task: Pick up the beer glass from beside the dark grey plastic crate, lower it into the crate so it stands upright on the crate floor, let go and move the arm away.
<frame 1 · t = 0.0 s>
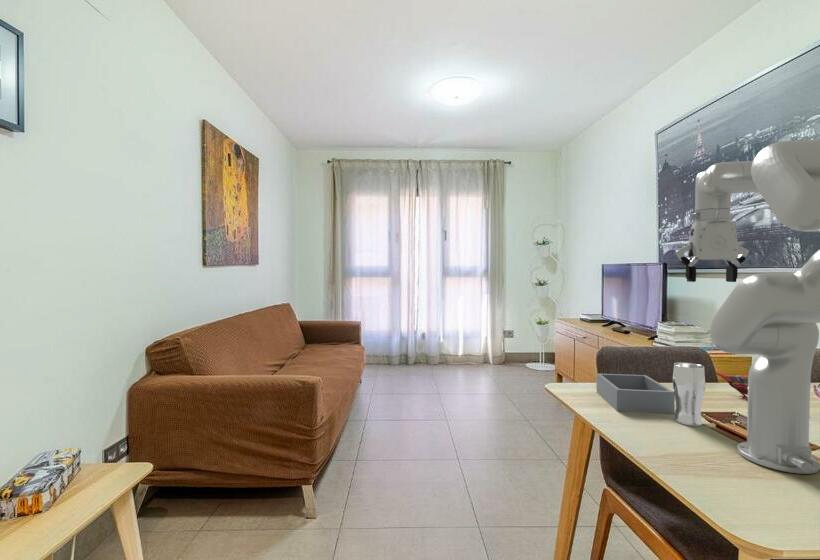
hand: (711, 281, 106), 37 cm above the table, tool pointing down, fingers open, 9 cm apart
crate: (632, 401, 120), on the table
decorative bird figurine: (740, 398, 124), on the table
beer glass: (687, 422, 104), on the table
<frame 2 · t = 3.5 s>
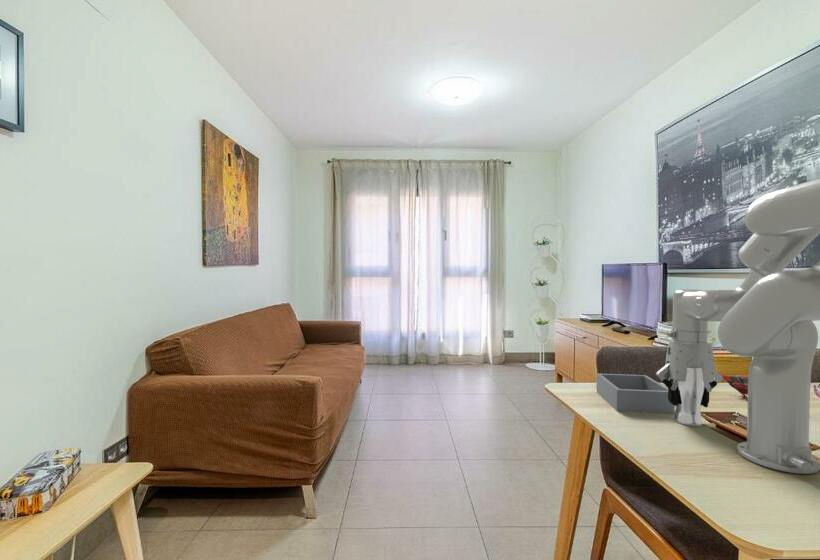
hand: (688, 404, 104), 5 cm above the table, tool pointing down, fingers closed on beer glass, 6 cm apart
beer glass: (687, 422, 104), on the table, touching gripper
everything else where it was.
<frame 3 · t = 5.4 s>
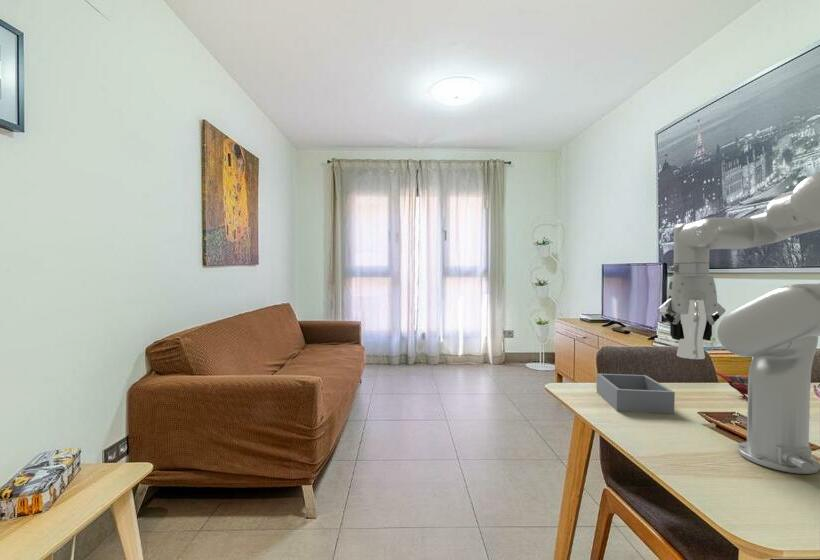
hand: (690, 338, 104), 22 cm above the table, tool pointing down, fingers closed on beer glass, 6 cm apart
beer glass: (690, 357, 104), point 17 cm above the table, touching gripper
everything else where it was.
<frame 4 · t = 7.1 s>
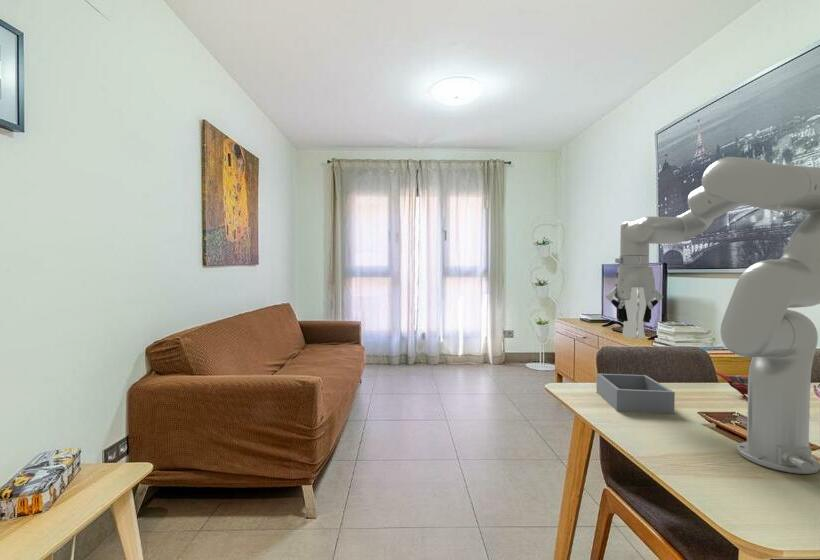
hand: (633, 321, 120), 24 cm above the table, tool pointing down, fingers closed on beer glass, 6 cm apart
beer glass: (633, 337, 120), point 20 cm above the table, touching gripper
everything else where it was.
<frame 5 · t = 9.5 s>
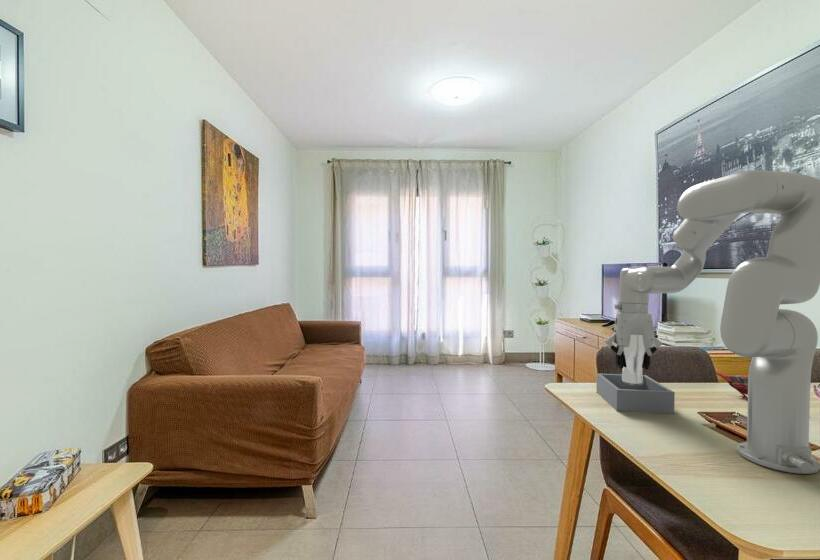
hand: (632, 367, 120), 10 cm above the table, tool pointing down, fingers closed on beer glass, 6 cm apart
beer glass: (632, 383, 120), point 6 cm above the table, touching gripper
everything else where it was.
when the fingers open (7 cm above the table, at t = 11.2 s): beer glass drops 1 cm, resting on crate.
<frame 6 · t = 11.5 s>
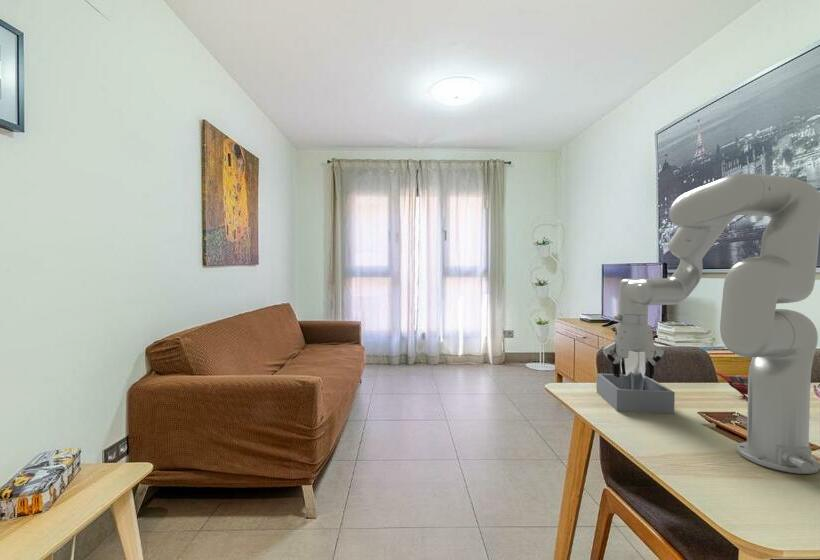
hand: (632, 376, 120), 8 cm above the table, tool pointing down, fingers open, 8 cm apart
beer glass: (632, 398, 120), point 1 cm above the table, touching crate
everything else where it was.
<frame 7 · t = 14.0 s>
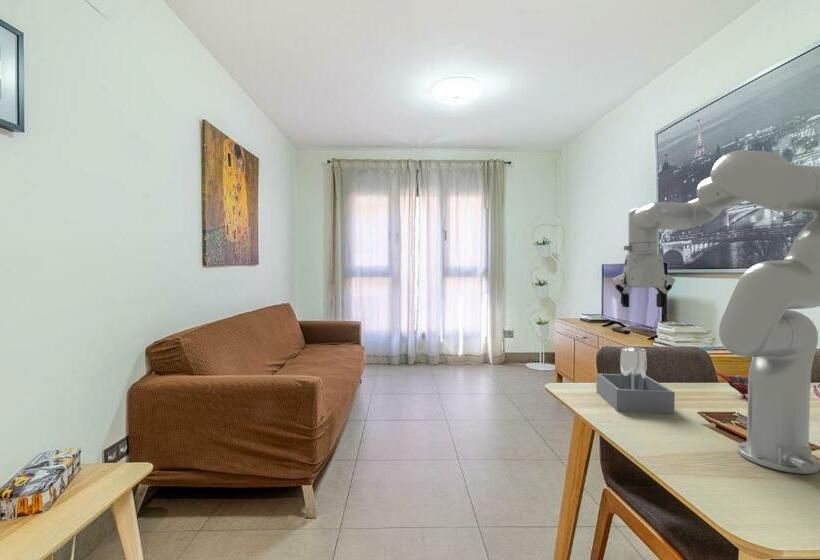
hand: (642, 307, 118), 29 cm above the table, tool pointing down, fingers open, 9 cm apart
nothing on the table moved.
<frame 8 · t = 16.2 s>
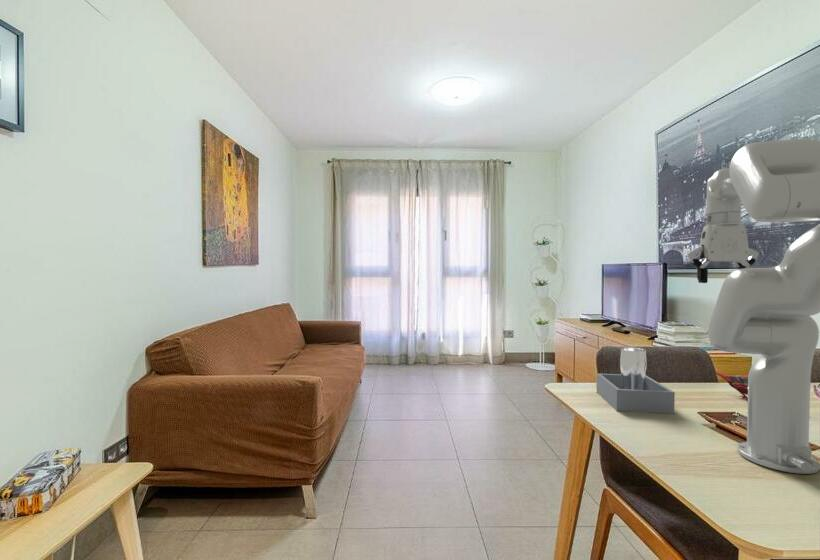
hand: (722, 282, 110), 36 cm above the table, tool pointing down, fingers open, 9 cm apart
nothing on the table moved.
at the end: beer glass inside the target area on the crate (0.1 cm from its centre), point 0.8 cm above the crate's base; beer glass tilted 0°; the gripper is holding nothing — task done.
